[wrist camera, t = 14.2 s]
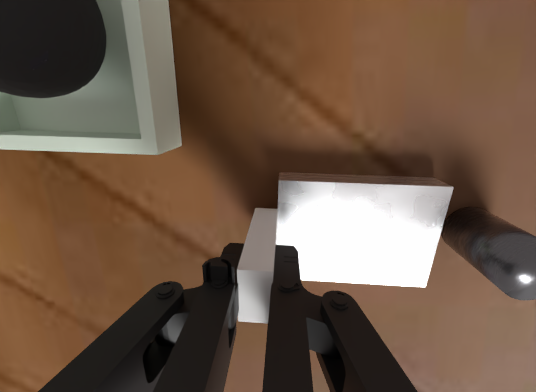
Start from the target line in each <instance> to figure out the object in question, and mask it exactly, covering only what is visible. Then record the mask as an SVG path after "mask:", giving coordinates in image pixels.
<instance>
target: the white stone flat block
mask: <svg viewBox="0 0 536 392" xmlns="http://www.w3.org/2000/svg"><path fill="white" fill-rule="evenodd" d="M453 188H454V187H453V186H451V185H449V184H447V183H444V182H442V181H440V180H438V179H436V178H434V177H405V176H376V175H348V174H319V173H290V172H280V173H279V187H278V216H277V245H291V246H295V248H296V249H297V250H298V255H299V266H300V277H301V280H312V281H329V282H346V283H362V284H379V285H396V286H412V287H426V284H427V280H428V277H429V273H430V270H431V266H432V262H433V259H434V255H435V252H436V248H437V245H438V241H439V238H440V234H441V231H442V227H443V224H444V220H445V216H446V213H447V209H448V206H449V202H450V199H451V195H452V192H453Z"/></svg>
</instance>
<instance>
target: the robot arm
mask: <svg viewBox="0 0 536 392" xmlns="http://www.w3.org/2000/svg"><path fill="white" fill-rule="evenodd" d="M277 216H278V209H269V208H255V211H254V214H253V217H252V221H251V224H250V227H249V231H248V234H247V237H246V241H245V244H240V243H229V244H228V245H227V246H226V247H225V248H224V249H223V252H222V255H221V256H220V257H216V258H212V259H209V260H208V261H206V262H205V263H204V264H203V265H202V267H203V280H204V282H203V285H202V286H199V287H196V288H191V289H185V290H183V287H182V285H181V284H180V283H177V282H172V281H169V282H163V283H161V284H158V285H156V286H155V287H153V288H152V289H151V290H150V291H149V292H147V293H146V294H145V295H144V296H143V297H142V298H141V299H140V300H139V301H138V302H136V303H135V304H134V305H133V306H132V307H131V308H130V309H129V310H128V311H127V312H125V313H124V314H123V315H122V316H121V317H120V318H119V319H118V320H117V321H115V322H114V323H113V324H112V325H111V326H110V327H109V328H108V329H107V330H106V331H104V332H103V333H102V334H101V335H100V336H99V337H98V338H97V339H96V340H95V341H93V342H92V343H91V344H90V345H89V346H88V347H87V348H86V349H85V350H83V351H82V352H81V353H80V354H79V355H78V356H77V357H76V358H75V359H74V360H72V361H71V362H70V363H69V364H68V365H67V366H66V367H65V368H64V369H63V370H61V371H60V372H59V373H58V374H57V375H56V376H55V377H54V378H53V379H51V380H50V381H49V382H48V383H47V384H46V385H45V386H44V387H43V388H42V389H40V390H39V391H38V392H223V391H224V386H225V382H226V377H227V373H228V368H229V363H230V359H231V354H232V349H233V345H234V340H235V336H236V321H237V316H238V321H241V322H255V323H268V330H267V342H266V354H265V367H264V379H263V391H262V392H313V384H312V373H311V363H310V353H309V349H310V350H313V351H315V352H316V355H317V358H318V360H319V363H320V366H321V368H322V371H323V374H324V376H325V379H326V382H327V384H328V387H329V390H330V392H417V390H416V389H415V387H414V386H413V384H412V383H411V381H410V380H409V379H408V377H407V376H406V374H405V373H404V371H403V370H402V368H401V367H400V365H399V364H398V362H397V361H396V360H395V358H394V357H393V355H392V354H391V352H390V351H389V349H388V348H387V346H386V345H385V343H384V342H383V341H382V339H381V338H380V336H379V335H378V333H377V332H376V330H375V329H374V327H373V326H372V324H371V323H370V321H369V320H368V319H367V317H366V316H365V314H364V313H363V311H362V310H361V308H360V307H359V305H358V304H357V302H356V301H355V300H354V299H353V298H352V297H351V296H350V295H348V294H346V293H344V292H341V291H329V292H326V293H325V294H324V295H323V297H321V296H317V295H314V294H312V293H310V292H308V291H307V290H306V289H305V288H304V287H303V286H302V284H301V277H300V266H299V255H298V250H297V249H296V248H295V246H291V245H276V244H277Z"/></svg>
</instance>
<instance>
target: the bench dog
mask: <svg viewBox="0 0 536 392" xmlns="http://www.w3.org/2000/svg"><path fill="white" fill-rule="evenodd" d="M442 237H443V240H444V241H445V243H446V244H448V245H449V246H450V247H451V248H452V249H453V250H455V251H456V252H457V253H458V254H459V255H461V256H462V257H463V258H464V259H465V260H466V261H468V262H469V263H470V264H471V265H472V266H473V267H475V268H476V269H477V270H478V271H479V272H481V273H482V274H483V275H484V276H485V277H486V278H488V279H489V280H490V281H491V282H492V283H493V284H495V285H496V286H497V287H498V288H499V289H501V290H502V291H503V292H504V293H505V294H507V295H508V296H510V297H511V298H514V299H518V300H534V299H536V237H535V236H534V235H532V234H530V233H528V232H526V231H524V230H522V229H520V228H518V227H516V226H514V225H512V224H510V223H508V222H507V221H505V220H503V219H501V218H499V217H497V216H495V215H493V214H491V213H489V212H487V211H485V210H483V209H481V208H478V207H467V208H463V209H460V210H458V211H456V212H454V213H453V214H451V215H450V216H449V217H448V218H447V219H446V221H445V222H444V224H443V227H442Z"/></svg>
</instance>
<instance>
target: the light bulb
mask: <svg viewBox="0 0 536 392" xmlns="http://www.w3.org/2000/svg"><path fill="white" fill-rule="evenodd" d="M105 52H106V30H105V26H104V21H103V17H102V14H101V11H100V9H99V6H98V4H97V1H96V0H0V92H3V93H7V94H10V95H15V96H20V97H30V98H52V97H58V96H63V95H67V94H70V93H73V92H75V91H77V90H79V89H81V88H82V87H84V86H86V85H87V84H88V83H89V82H90V81H91V80H92V79H93V78H94V77H95V76H96V74H97V73H98V72H99V70H100V68H101V65H102V63H103V61H104V57H105Z"/></svg>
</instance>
